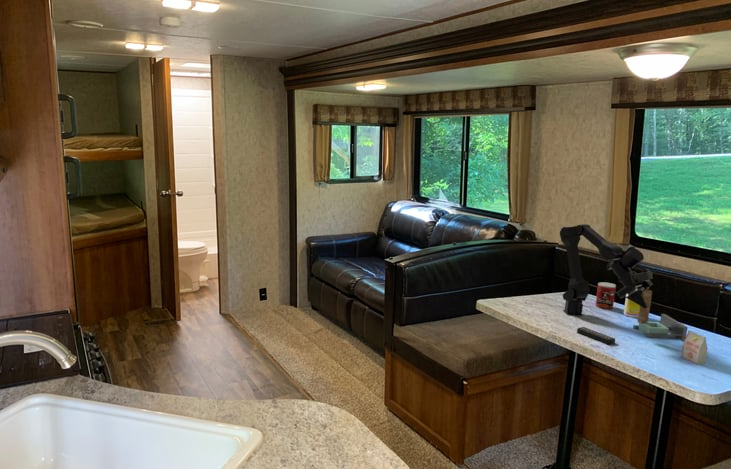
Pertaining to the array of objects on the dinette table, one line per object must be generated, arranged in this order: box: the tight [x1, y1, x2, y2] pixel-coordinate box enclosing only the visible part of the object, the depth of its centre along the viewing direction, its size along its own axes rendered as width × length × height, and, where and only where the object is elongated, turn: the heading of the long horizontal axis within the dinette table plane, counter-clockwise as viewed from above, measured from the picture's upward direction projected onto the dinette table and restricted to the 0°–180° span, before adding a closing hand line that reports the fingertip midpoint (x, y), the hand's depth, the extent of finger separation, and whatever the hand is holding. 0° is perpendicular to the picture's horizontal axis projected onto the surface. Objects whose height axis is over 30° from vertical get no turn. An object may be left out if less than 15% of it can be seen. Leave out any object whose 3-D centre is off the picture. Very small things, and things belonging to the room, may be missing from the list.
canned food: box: [595, 281, 617, 310], centre depth 260 cm, size 8×8×11 cm
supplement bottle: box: [623, 294, 640, 319], centre depth 248 cm, size 7×7×13 cm
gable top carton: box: [680, 330, 708, 365], centre depth 199 cm, size 4×7×10 cm, turn 17°
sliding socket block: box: [637, 321, 669, 335], centre depth 226 cm, size 8×8×4 cm
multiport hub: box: [576, 326, 616, 346], centre depth 218 cm, size 4×14×2 cm, turn 31°
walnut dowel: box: [637, 289, 653, 324], centre depth 217 cm, size 4×4×13 cm
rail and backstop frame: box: [632, 313, 688, 342], centre depth 226 cm, size 14×16×6 cm
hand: (648, 307), depth 216 cm, fingers closed on walnut dowel, 3 cm apart
